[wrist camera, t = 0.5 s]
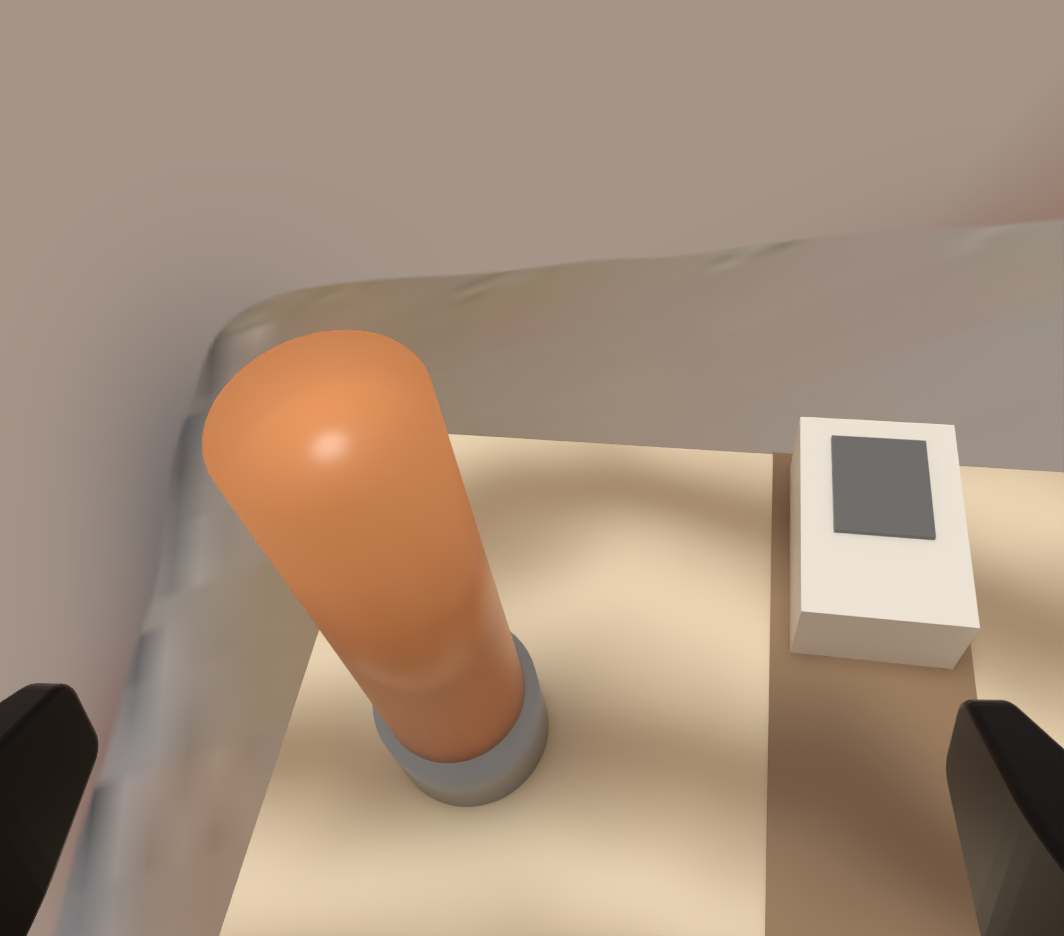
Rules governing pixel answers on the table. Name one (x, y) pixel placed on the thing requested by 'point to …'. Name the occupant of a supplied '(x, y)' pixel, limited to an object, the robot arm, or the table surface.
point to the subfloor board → (666, 725)
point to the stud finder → (879, 543)
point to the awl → (383, 552)
